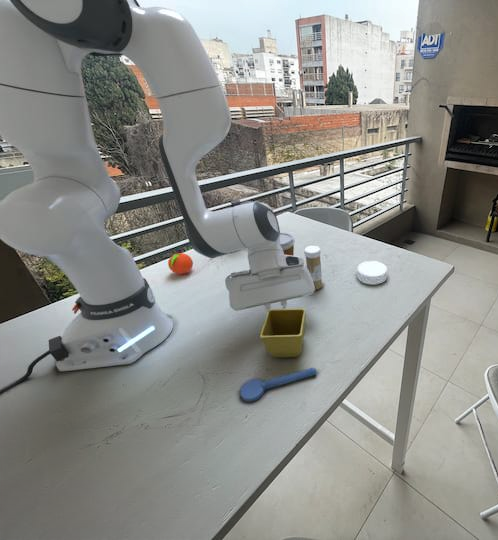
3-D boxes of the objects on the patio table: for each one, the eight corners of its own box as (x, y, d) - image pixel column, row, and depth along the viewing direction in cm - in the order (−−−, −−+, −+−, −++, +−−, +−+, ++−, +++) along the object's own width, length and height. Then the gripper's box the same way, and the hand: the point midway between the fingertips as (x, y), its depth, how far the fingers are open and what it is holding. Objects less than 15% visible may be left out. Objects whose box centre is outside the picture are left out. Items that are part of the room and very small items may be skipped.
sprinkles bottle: (305, 285, 90) (301, 248, 82) (317, 280, 92) (314, 243, 85) (313, 292, 87) (310, 254, 80) (325, 286, 90) (323, 249, 82)
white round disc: (380, 266, 100) (380, 258, 98) (391, 282, 92) (392, 273, 90) (353, 271, 97) (353, 262, 95) (362, 287, 89) (362, 278, 87)
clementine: (187, 280, 91) (179, 261, 88) (165, 279, 92) (157, 260, 88) (199, 267, 98) (193, 249, 94) (179, 266, 98) (172, 248, 94)
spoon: (241, 404, 56) (239, 400, 55) (241, 385, 59) (239, 380, 59) (318, 381, 61) (318, 376, 60) (314, 364, 64) (313, 360, 63)
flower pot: (305, 363, 64) (301, 335, 59) (266, 365, 64) (259, 336, 59) (309, 335, 72) (305, 308, 67) (274, 336, 71) (268, 309, 66)
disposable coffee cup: (302, 272, 96) (299, 240, 90) (275, 280, 92) (269, 248, 85) (291, 260, 103) (287, 229, 97) (265, 267, 98) (259, 236, 92)
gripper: (221, 271, 65) (231, 330, 63) (308, 256, 72) (320, 309, 69) (226, 276, 71) (235, 331, 69) (306, 262, 78) (317, 312, 75)
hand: (278, 320), depth 69 cm, fingers closed
